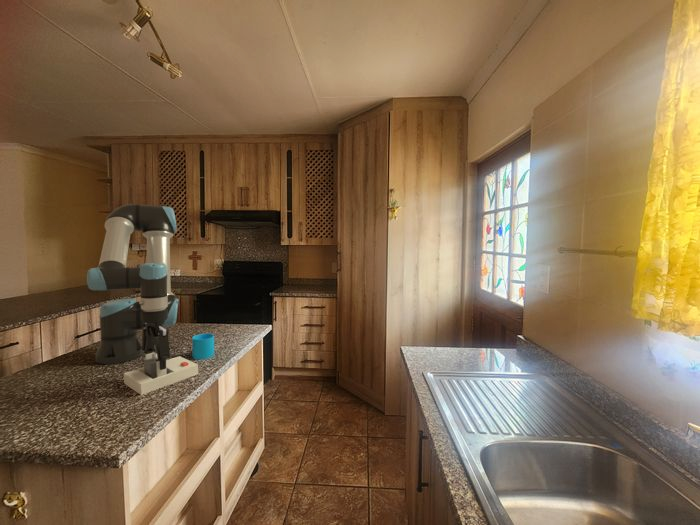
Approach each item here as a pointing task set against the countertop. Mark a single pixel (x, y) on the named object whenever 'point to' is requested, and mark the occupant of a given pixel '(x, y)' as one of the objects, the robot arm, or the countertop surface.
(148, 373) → the plug
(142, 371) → the socket plate
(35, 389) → the countertop surface
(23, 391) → the countertop surface
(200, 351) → the mug
